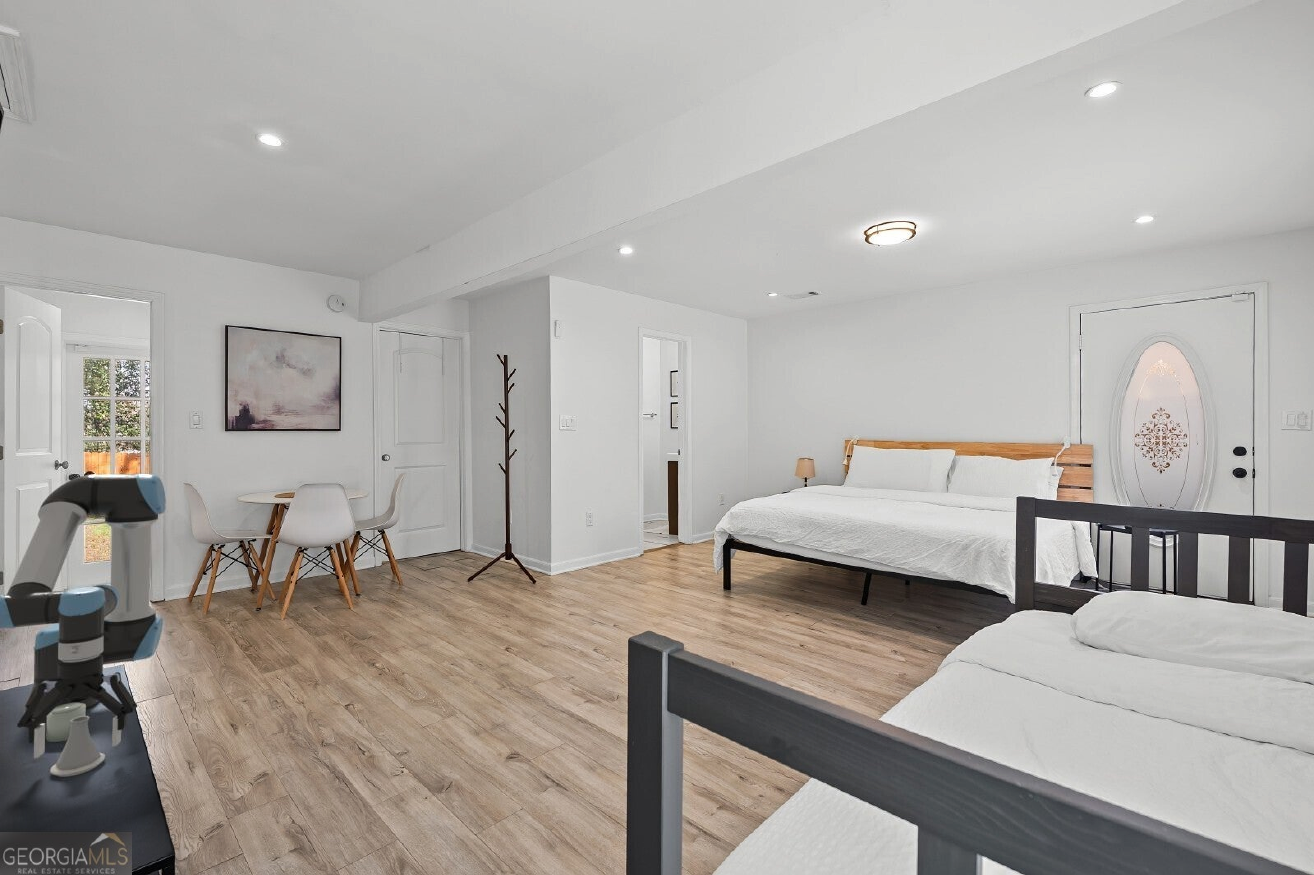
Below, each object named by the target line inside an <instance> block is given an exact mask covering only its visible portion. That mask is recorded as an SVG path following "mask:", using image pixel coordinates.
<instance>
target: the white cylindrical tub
mask: <svg viewBox="0 0 1314 875" xmlns="http://www.w3.org/2000/svg"><path fill="white" fill-rule="evenodd" d="M86 709H87V708H86V705H85V704H84V703H68V704H64V705H60V706H57V707H55V708H54V709H53V710H52V711H51V712H50V713H49V714H48V715H47V718H46V731H45V740H46V741H47V742H48V743H58V742H59V743H60V742H64V741H68V738H69V735H70V732H71V723H70V720H72V719H74V718H77V717H80V716H86Z"/></svg>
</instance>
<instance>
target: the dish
mask: <svg viewBox="0 0 1314 875" xmlns="http://www.w3.org/2000/svg"><path fill="white" fill-rule="evenodd" d="M99 753H100V755H101V757H100V758H98V759H97V760H95V761H94V762H92V763H90V764H87V765H84V766H82V767H79V768H76V769H62V770H60V769H59V768H58V767H56V763H55V764H53V765H52V767H51V768H50V772H49V773H50V774H51V775H53V776H56V777H60V778H66V777H73V776H77V775H81V774H84V773H87V772H89V771H92V770H93V769H95V768H97V767H99V765H100V764H101V763H103V762H104V760H105V758H106V754H105V753H103V752H100V751H99Z"/></svg>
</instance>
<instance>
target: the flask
mask: <svg viewBox="0 0 1314 875" xmlns="http://www.w3.org/2000/svg"><path fill="white" fill-rule="evenodd" d="M89 720H90V716H89V715H85V716H80V717H77V718H74V719H72V720H70V723H71V732H70V735H69V738H68V740H66V743H65V746H64V747H63V750H62V751H61V753H60V755H59V757H58V759H57V762H56V763H55V764H56V767H58V768H59V769H60V770H62V769H76V768H79V767H82V766H84V765H87V764H90V763H92V762H94V761H95V760H97V759H98V758H100V757H101V755H100V753H101V752H100V751H99V750H98V748H97V746H96V745H95V743H94V740H93V738H92V736H91V734H90V729H89V726H88V725H89ZM99 752H100V753H99Z"/></svg>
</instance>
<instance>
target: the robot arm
mask: <svg viewBox="0 0 1314 875" xmlns="http://www.w3.org/2000/svg"><path fill="white" fill-rule="evenodd" d="M164 487H165V486H164V484H163V481H162V479H161V478H160V477H159V476H157V475H155V474H146V473H144V474H143V473H122V474H120V473H119V474H117V473H116V474H86V475H82V476H79V477H75V478H73V479H71V480H69V481H67V482H65V483H63V484H62V485H60V486H59V487H57V488H56V489H54V490H53V491H52V492H51V493H50V494H49V495H48V496H46V498H45V500H44V501H42V503H41V505H40V506H39V507H40V508H39V510H38V512H37V516H38V518H39V521H38V524H37V527H36V528H35V531H34V533H33V535H32V538H31V540H30V542H29V544H28V546H27V549H26V550H25V554H24V555H23V557H22V559H21V561H20V564H19V567H18V568H17V571H16V573H15V575H14V577H13V579H12V582H11V584H10V586H9V587H8V588H9V589H8V591H7V593H6V594H1V595H0V629H2V630H3V629H16V628H22V627H30V626H31V627H32V626H41V625H49V626H47V627H46V626H45V627H44V628H42V629H40V631H38V632H37V633H36V635H35V640H34V647H33V651H34V654H33V655H34V656H33V660H34V661H33V685H32V688H31V690H30V692H29V694H28V696H27V699H26V700H25V701H26V702H25V703H24V706H23V715H22V716H21V718H20V719H19V721H18V722H17V724H16V725H17V728H19V729H21V728H27V729H28V742H29V743H30V744H31V743H33V759H38V758H40V757H41V756H42V755H43V754H44V753H45V743H46V741H45V740H46V723H42V722H43V721H44V719H47V715H48V714H49V713H50V712H51V711H52V710H53V709H54V708H55V707H57V706H60V705H64V704H68V703H84V704H85V705H86V709H89V708H90V707H93V706H94V705H96V704H97V703H98V702H99V703H100V704H101V705H102V706H104V707H105V708H107V709H108V710H109V711H110V712H111V713H112V714H113V715H115V716H114V717H113V718H112V737H111V738H112V741H111V747H117V746H118V745H119V743H121V741H122V731H123V730H124V729H125V728H126V727H127V723H128V721H127V720H128V716H127V715H128V714H131V713H133V712H134V711H135V710H136V709H137V708H138V704H137V703H136V701H135V699H134V698H133V696H132V695H131V694H130V692H129V691H128V689H127V687H126V686H125V685H124V683H123V682H122V676H121V673H120V672H119V671H117V672H115V673H114V674H108V675H105V674H104V673H103V672H104V665H112V664H119V663H128V662H133V663H134V662H135V661H140V660H147V659H149V658H151V657H152V656H153V655H155V653H156V652H157V649H158V647H159V643H160V640H161V635H162V631H163V625H164V622H163V620H164V619H163V617H162V616H157V615H156V614H157V611H156V609H155V608H153V607H151V605H150V596H151V595H150V593H151V591H150V589H151V587H150V586H151V551H152V550H151V548H152V525H153V524H154V523H156V522H157V521H158V520H159V515H161V514H164V513H165V511H166V503H167V502H166V501H167V500H166V492H165V488H164ZM94 516H96V517H97V516H101V517H103V516H104V523H105V524H107V525H108V526H110V527H111V553H110V556H111V557H110V559H111V560H110V562H111V563H110V585H109V584H96V585H93V586H87V587H84V586H83V587H78V588H72V589H68V590H58V591H56V590H55V591H54V588H55V587H56V583H57V582H58V580H59V579H58V578H59V576H60V573H61V571H62V569H63V565H64V563H65V560H66V558H67V555H68V553H69V550H70V548H71V545H72V543H73V540H74V538H75V535H76V533H77V530H78V528H79V526H81V525H82V524H84V523H85V522H86V521H87V519H88V517H94ZM103 683H107V684H106V685H109V686H110V687H111V690H112V691H113V693H114V695H115V696H116V698H117V699H116V698H115V697H114V696H112V694H110V693H109V692H108V691H107V689H106V688H105V687H104V686H102V684H103Z"/></svg>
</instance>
